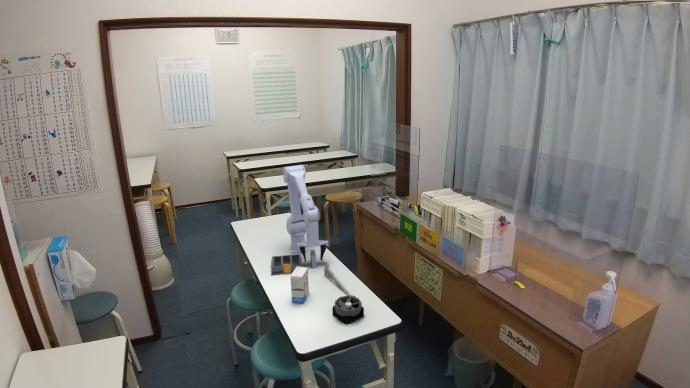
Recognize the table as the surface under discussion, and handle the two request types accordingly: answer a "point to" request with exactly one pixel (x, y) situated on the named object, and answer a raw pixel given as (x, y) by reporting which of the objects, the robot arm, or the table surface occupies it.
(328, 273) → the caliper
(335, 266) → the table surface
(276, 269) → the panel rack
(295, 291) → the ink box
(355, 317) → the cpu cooler
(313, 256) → the panel
